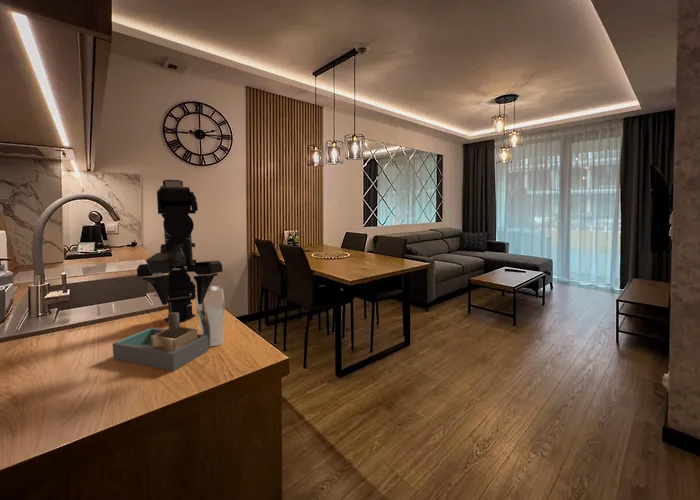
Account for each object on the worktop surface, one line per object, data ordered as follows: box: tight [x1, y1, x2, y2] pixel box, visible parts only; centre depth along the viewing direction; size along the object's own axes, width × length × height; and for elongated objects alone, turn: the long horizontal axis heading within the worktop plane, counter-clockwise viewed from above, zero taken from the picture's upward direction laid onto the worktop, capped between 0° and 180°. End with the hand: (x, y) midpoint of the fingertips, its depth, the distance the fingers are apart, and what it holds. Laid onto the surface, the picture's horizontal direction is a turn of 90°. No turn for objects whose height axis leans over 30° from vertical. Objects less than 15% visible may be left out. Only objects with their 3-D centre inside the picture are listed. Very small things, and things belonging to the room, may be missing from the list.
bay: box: [112, 326, 209, 372], centre depth 82 cm, size 18×11×4 cm, turn 73°
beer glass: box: [195, 284, 226, 348], centre depth 89 cm, size 7×7×15 cm
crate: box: [151, 312, 198, 351], centre depth 80 cm, size 7×7×10 cm
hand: (182, 304), depth 80 cm, fingers open, 9 cm apart
